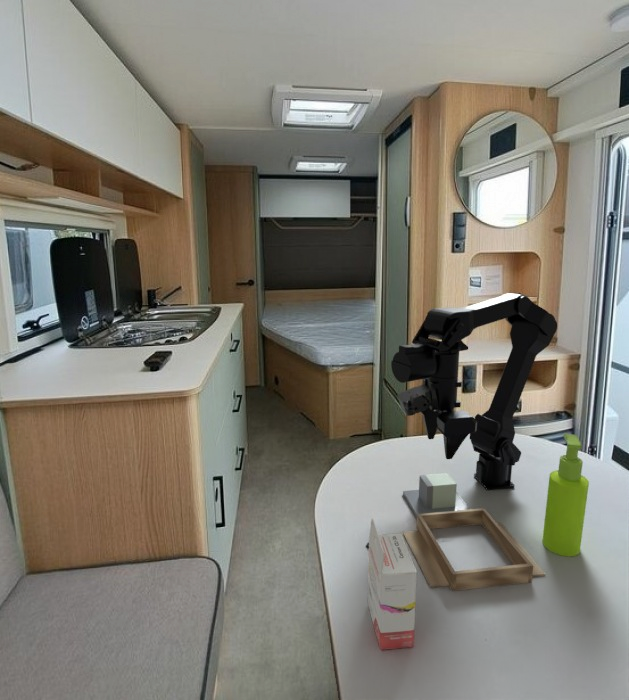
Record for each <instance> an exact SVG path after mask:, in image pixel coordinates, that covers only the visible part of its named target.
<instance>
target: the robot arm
mask: <svg viewBox="0 0 629 700" xmlns="http://www.w3.org/2000/svg"><path fill="white" fill-rule="evenodd" d="M426 314H427V315H426V316H425V319H424V321H423V322H422V324H421V325H420V327H419V329H418V331H417V332H416V334H415V336H414V337H413V338H412V341H411V343H412V344H409V345H408V344H400V345H398V352H395V354H394V356H393V357H392V360H391V362H390V363H391V371H392V374H393V377H394V378H395V379H396V381H397V382H399V383H402V384H403V383H409V382H415V381H420V380H422V383H421V384H420V385H417V386H414V387H412V388H411V387H410V388H409V389H406V390H405V391H401V392H400V393H398V394H397V399H398V401H399V405H400V408H401V411H403V412H404V414H405V415H406V416H409V417H410V416H414V415H416V414H419V413H421V417H422V420H423V424H424V427H425V432H426V435H427V438H428V440H434V438H435V436H436V434H437V430H438V431H439V432H440V434H441V435H443V445H444V454H445V459H446V460H452V459H453V458H454V456H455V455H456V453H457V452H458V450H459V448H460V447H461V445H462V443H464V441H465V439H466V438H467V437H468V435H469V440H470V442H471V445H472V448H473V451H474V452H475V453H478V460H477V461H476V465H475V466H476V467H475V472H474V474H473V476H474V477H475V479H477V480H478V482H479V483H480V484H481V485H482V486H483V487H484V488H485V489H486V490H499V489H501V490H502V489H510V488H511V489H512V488H515V487H516V486H515V484H514V483H513V481H511V480H512V472H513V471H512V469H513V466H516V463H518V462H519V461H520V459H521V456H522V451H521V450H520V449H519V448H518V447H517V446H516V445H515V444H514V439H515V435H516V430H515V426H514V425H515V424H514V421H513V419H514V418H513V417H514V415H515V412H516V409H517V407H518V404H519V402H520V399H521V397H522V394H523V392H524V388H525V385H526V384H527V381H528V379H529V375H530V373H531V370H532V367H533V365H534V362H535V360H536V358H537V356H538V354H540V353H541V352H542V351H543V350H545V349H546V348H547V347H548V346H549V345H550V344H551V342H552V340H553V338H554V336H555V334H556V332H557V330H558V321H556V318H555V316H554V315H553V314H552V313H549V311H548V310H546V309H544V308H542V307H541V306H540V305H538V304H536V303H534V302H533V301H532V300H531V299H530V298H529V297H528V296H526V295H524V294H519V293H510V292H509V293H508V292H507V293H503V294H502V295H500V296H496V297H494V298H490V299H487V300H484V301H481V302H477V303H474V304H471V305H467V306H463V307H438V308H437V307H436V308H432V309H430V310H428V312H427V313H426ZM501 320H505V321H506V322H507V323H508V324H509V325H510V326H511V328H510V332H509V336H510V337H509V338H510V342H511V343H510V344H511V346H512V347H511V351H510V353H509V356H508V358H507V361H506V363H505V366H504V369H503V371H502V374H501V375H500V379H499V382H498V385H497V387H496V390H495V392H494V395H493V398H492V400H491V403H490V405H489V408H488V410H486V411H485V412H484V413H483V414H479V413H477V414H476V415H475V416H474V417H473V416H472V415H471V414H470V413H468V411H466V410H465V409H463V410H455V409H457V408H461V406H462V405H461V404H462V402H461V401H459V400H458V398H457V397H458V388H462V386H463V384H462V383H463V381H461V380H459V361H460V352H463V351H468V350H469V346H468V345H467V344H466V343H464V341H463V340H464V339H465V338H466V339H467V337H469V336H470V335H472V332H474V330H475V329H477V328H479V327H483V326H486V325H488V324H492V323H495V322H498V321H501ZM429 337H430V338H429ZM440 340H441V341H440Z"/></svg>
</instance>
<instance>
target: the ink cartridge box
mask: <svg viewBox="0 0 629 700" xmlns="http://www.w3.org/2000/svg"><path fill="white" fill-rule="evenodd" d="M368 538H369V539H368V542H369V551H368V581H367V582H368V583H367V585H368V587H367V605H368V608H369V613H370V617H371V619H372V621H371V622H372V624H373V627H374V631H375V634H376V638H377V642H378V646H379V649H380V651H381V650H390V649H391V650H392V649H401V648H402V649H405V648H406V649H407V648H414V647H415V646H414V644H415V619H416V594H417V578H418V577H417V576H418V575H417V574H418V571H417V569H416V566H415V564H414V561H413V559H412V557H411V554H410V551H409V549H408V546H407V545H406V543H405V539H404V538H403V535H402V533H390V534H389V533H387V534H379V532H378V529H377V527H376V523H375V521H374V519H373V518H371V521H370V529H369V537H368Z"/></svg>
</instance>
